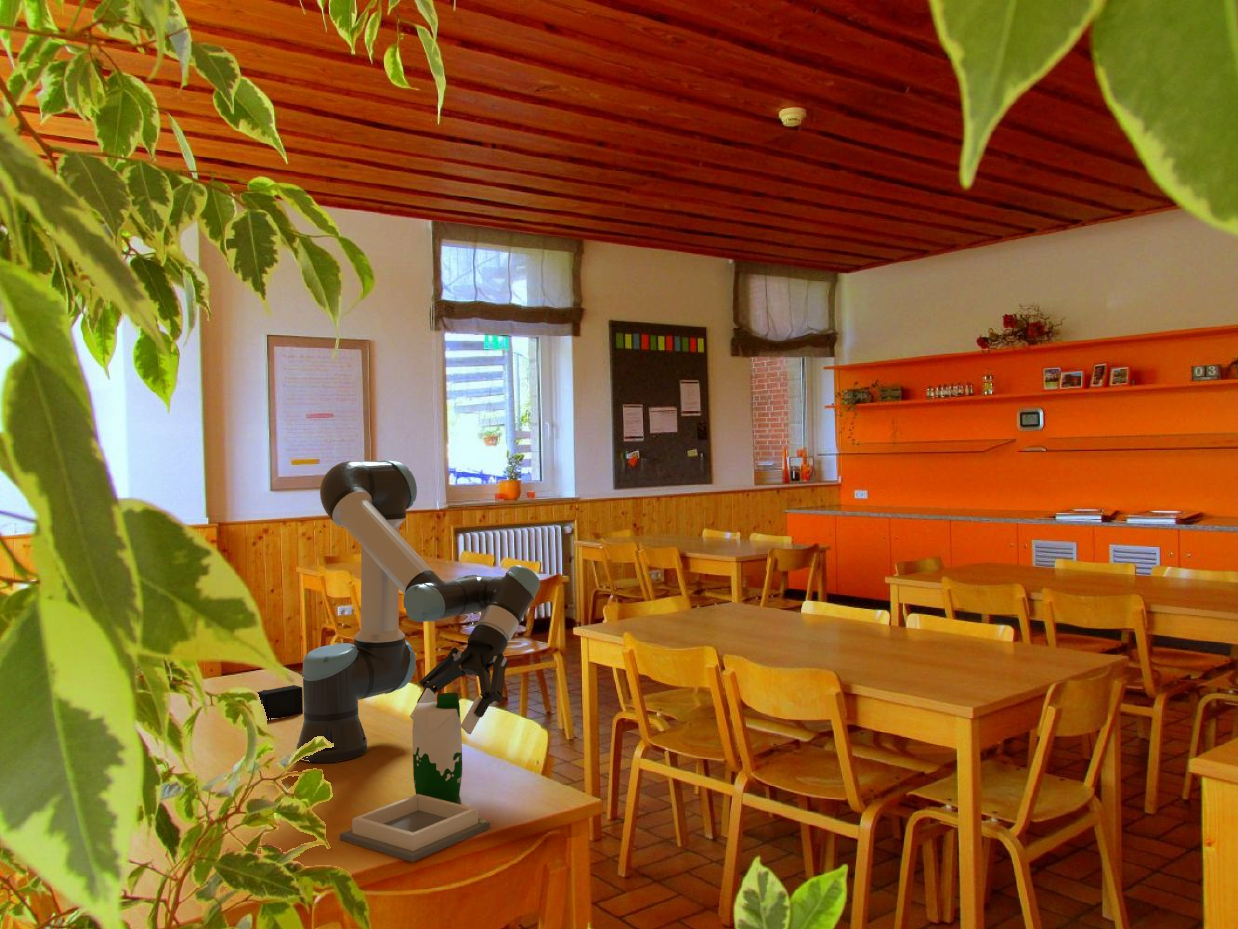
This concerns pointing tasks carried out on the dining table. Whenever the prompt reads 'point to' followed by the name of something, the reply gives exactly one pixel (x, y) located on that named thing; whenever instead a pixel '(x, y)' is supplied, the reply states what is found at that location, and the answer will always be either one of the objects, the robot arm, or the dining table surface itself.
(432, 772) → the soya milk
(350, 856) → the dining table surface
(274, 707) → the digital camera
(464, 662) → the robot arm
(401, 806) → the dock
